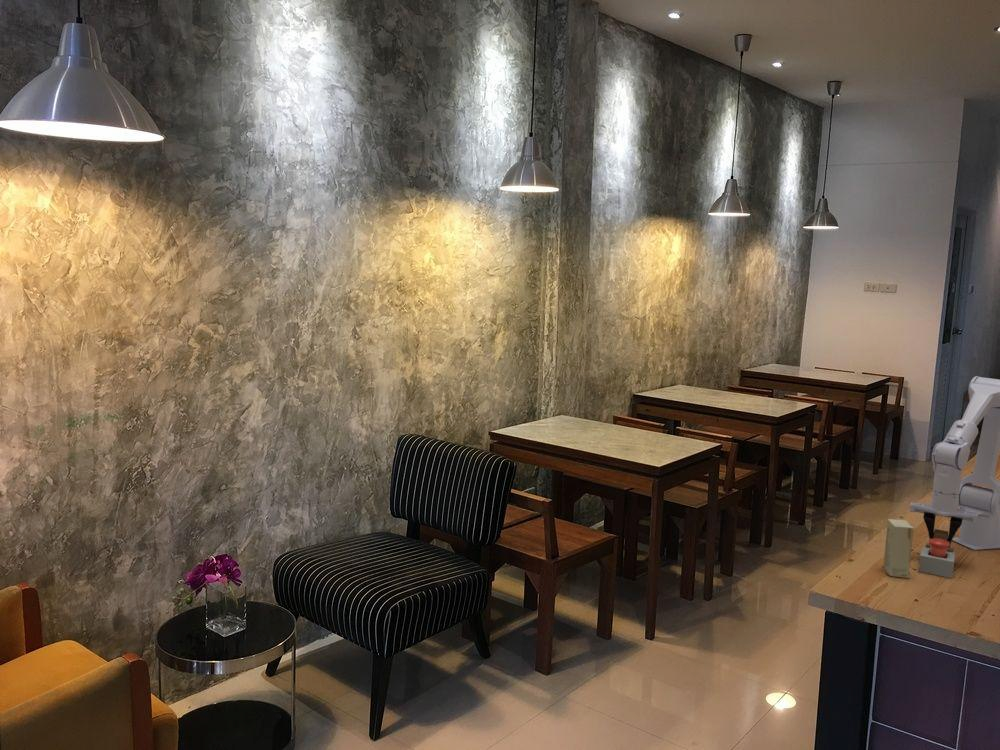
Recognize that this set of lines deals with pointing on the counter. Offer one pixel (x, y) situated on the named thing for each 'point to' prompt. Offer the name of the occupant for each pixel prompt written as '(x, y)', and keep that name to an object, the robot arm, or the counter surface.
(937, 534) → the carriage
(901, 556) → the skincare box
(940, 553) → the plunger
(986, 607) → the counter surface
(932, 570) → the grey rectangular block
